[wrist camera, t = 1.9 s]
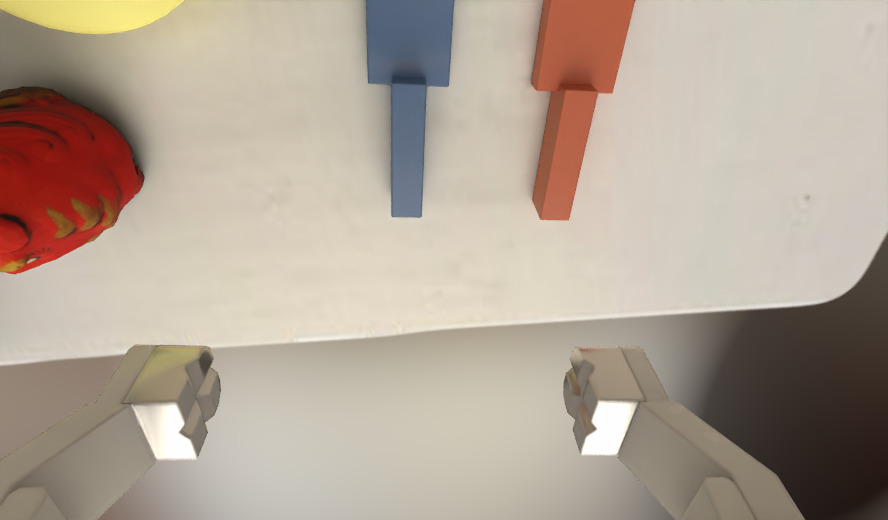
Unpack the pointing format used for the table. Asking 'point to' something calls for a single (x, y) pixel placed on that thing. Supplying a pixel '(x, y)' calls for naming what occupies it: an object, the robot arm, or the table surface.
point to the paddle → (408, 82)
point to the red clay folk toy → (57, 177)
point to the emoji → (90, 13)
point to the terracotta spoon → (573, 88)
